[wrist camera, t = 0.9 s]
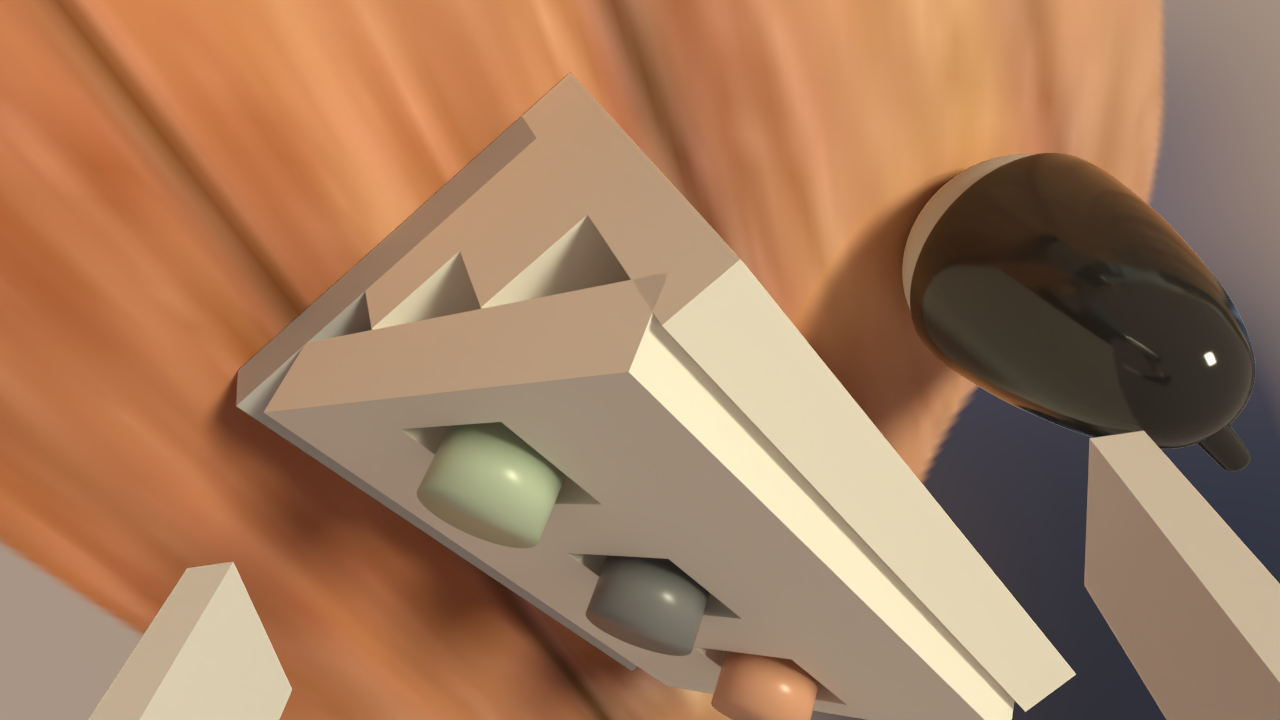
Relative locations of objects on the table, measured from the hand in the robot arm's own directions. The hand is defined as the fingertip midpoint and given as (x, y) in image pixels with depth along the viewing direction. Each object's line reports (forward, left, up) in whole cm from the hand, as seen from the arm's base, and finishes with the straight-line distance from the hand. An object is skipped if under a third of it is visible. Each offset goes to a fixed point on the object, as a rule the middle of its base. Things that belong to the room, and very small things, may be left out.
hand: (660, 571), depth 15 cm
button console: (+15, -3, -24) cm, 29 cm away
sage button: (+6, -6, -16) cm, 18 cm away
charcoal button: (+15, -6, -16) cm, 22 cm away
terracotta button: (+23, -6, -16) cm, 29 cm away
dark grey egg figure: (+21, +14, -25) cm, 35 cm away
